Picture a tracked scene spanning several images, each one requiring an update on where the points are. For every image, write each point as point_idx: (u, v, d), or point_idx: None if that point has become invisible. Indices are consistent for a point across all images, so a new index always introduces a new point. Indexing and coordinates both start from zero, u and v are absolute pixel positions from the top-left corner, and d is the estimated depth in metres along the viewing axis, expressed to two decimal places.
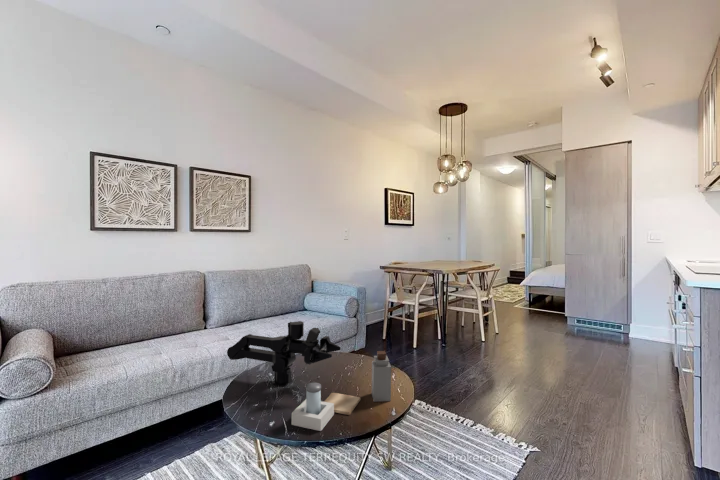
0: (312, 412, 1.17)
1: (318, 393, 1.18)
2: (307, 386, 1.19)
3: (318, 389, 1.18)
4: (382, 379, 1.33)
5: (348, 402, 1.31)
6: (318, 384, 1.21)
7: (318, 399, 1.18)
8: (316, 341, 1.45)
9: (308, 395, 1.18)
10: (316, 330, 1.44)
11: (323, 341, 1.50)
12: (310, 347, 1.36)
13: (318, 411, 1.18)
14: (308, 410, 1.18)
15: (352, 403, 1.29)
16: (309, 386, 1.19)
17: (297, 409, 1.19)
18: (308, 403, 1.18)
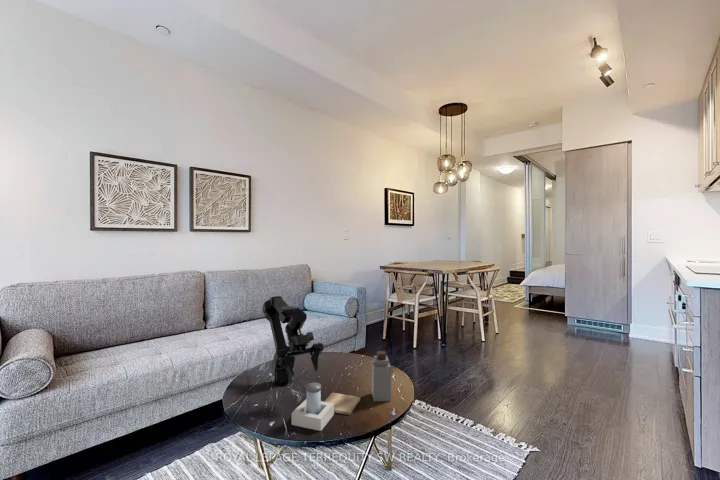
0: (312, 412, 1.17)
1: (318, 393, 1.18)
2: (307, 386, 1.19)
3: (318, 389, 1.18)
4: (382, 379, 1.33)
5: (348, 402, 1.31)
6: (318, 384, 1.21)
7: (318, 399, 1.18)
8: (303, 345, 1.31)
9: (308, 395, 1.18)
10: (305, 340, 1.27)
11: None
12: (283, 352, 1.26)
13: (318, 411, 1.18)
14: (308, 410, 1.18)
15: (352, 403, 1.29)
16: (309, 386, 1.19)
17: (297, 409, 1.19)
18: (308, 403, 1.18)
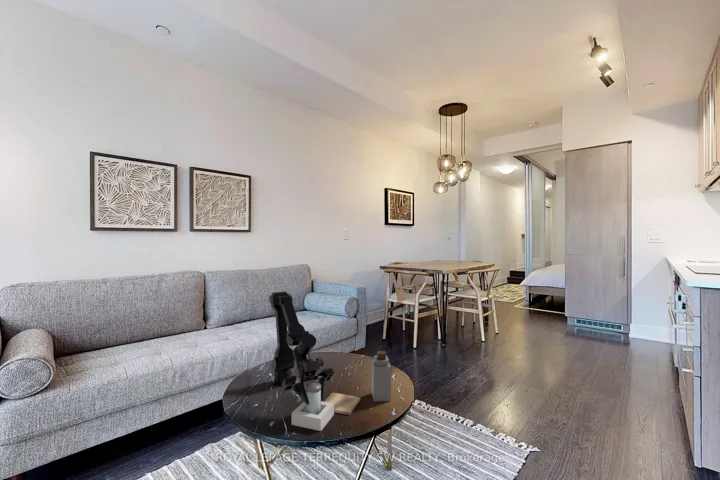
0: (312, 412, 1.17)
1: (318, 393, 1.18)
2: (307, 386, 1.19)
3: (318, 389, 1.18)
4: (382, 379, 1.33)
5: (348, 402, 1.31)
6: (318, 384, 1.21)
7: (318, 399, 1.18)
8: (312, 371, 1.23)
9: (308, 395, 1.18)
10: (314, 366, 1.19)
11: None
12: (292, 380, 1.18)
13: (318, 411, 1.18)
14: (308, 410, 1.18)
15: (352, 403, 1.29)
16: (309, 386, 1.19)
17: (297, 409, 1.19)
18: None
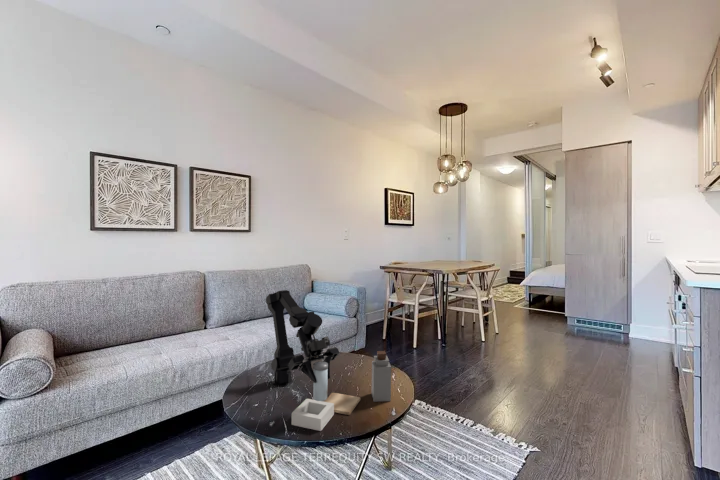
0: (320, 390, 1.19)
1: (325, 371, 1.20)
2: (314, 365, 1.21)
3: (326, 367, 1.20)
4: (382, 379, 1.33)
5: (348, 402, 1.31)
6: (325, 363, 1.23)
7: (325, 377, 1.20)
8: (319, 351, 1.25)
9: (316, 373, 1.19)
10: (322, 345, 1.21)
11: None
12: (299, 359, 1.19)
13: (325, 389, 1.20)
14: (316, 388, 1.20)
15: (352, 403, 1.29)
16: (317, 365, 1.21)
17: (297, 409, 1.19)
18: None
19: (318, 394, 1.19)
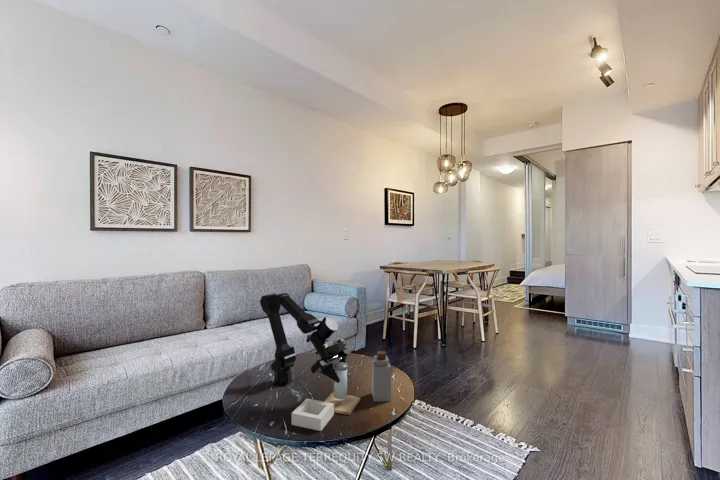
0: (342, 388, 1.28)
1: (346, 370, 1.30)
2: (336, 366, 1.29)
3: (347, 367, 1.30)
4: (382, 379, 1.33)
5: (348, 402, 1.31)
6: (343, 363, 1.32)
7: (346, 376, 1.30)
8: (335, 353, 1.33)
9: (338, 373, 1.28)
10: (342, 347, 1.30)
11: (343, 352, 1.38)
12: (324, 362, 1.26)
13: (346, 387, 1.30)
14: (338, 387, 1.28)
15: (352, 403, 1.29)
16: (338, 365, 1.29)
17: (297, 409, 1.19)
18: None
19: (340, 393, 1.28)
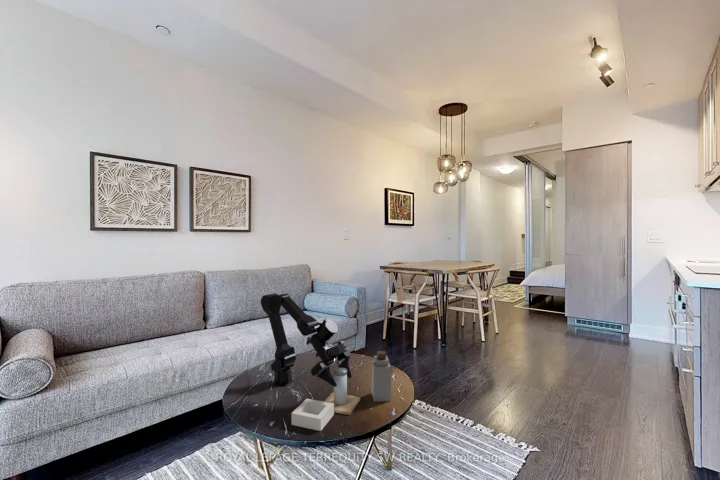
0: (342, 394, 1.28)
1: (346, 376, 1.30)
2: (335, 371, 1.29)
3: (346, 372, 1.30)
4: (382, 379, 1.33)
5: (348, 402, 1.31)
6: (343, 368, 1.32)
7: (346, 381, 1.30)
8: (335, 355, 1.33)
9: (338, 379, 1.28)
10: (342, 349, 1.30)
11: (343, 354, 1.38)
12: (324, 364, 1.26)
13: (346, 392, 1.30)
14: (338, 393, 1.28)
15: (352, 403, 1.29)
16: (338, 371, 1.30)
17: (297, 409, 1.19)
18: (338, 386, 1.28)
19: (340, 398, 1.28)
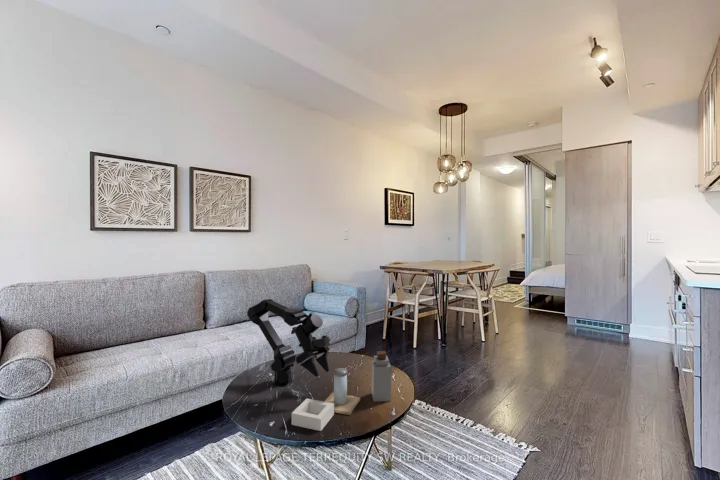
0: (342, 394, 1.28)
1: (346, 376, 1.30)
2: (335, 372, 1.29)
3: (346, 372, 1.30)
4: (382, 379, 1.33)
5: (348, 402, 1.31)
6: (343, 369, 1.32)
7: (346, 381, 1.30)
8: (318, 347, 1.39)
9: (338, 379, 1.28)
10: (327, 342, 1.37)
11: (322, 349, 1.45)
12: (310, 353, 1.31)
13: (346, 392, 1.30)
14: (338, 393, 1.28)
15: (352, 403, 1.29)
16: (338, 371, 1.29)
17: (297, 409, 1.19)
18: (338, 387, 1.28)
19: (340, 399, 1.28)
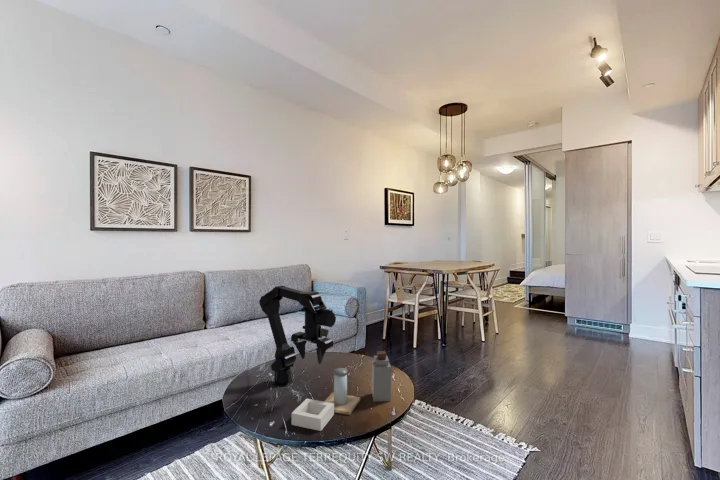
0: (342, 394, 1.28)
1: (346, 376, 1.30)
2: (336, 372, 1.29)
3: (346, 372, 1.30)
4: (382, 379, 1.33)
5: (348, 402, 1.31)
6: (343, 368, 1.32)
7: (346, 381, 1.30)
8: None
9: (338, 379, 1.28)
10: None
11: None
12: None
13: (346, 392, 1.30)
14: (338, 393, 1.28)
15: (352, 403, 1.29)
16: (338, 371, 1.29)
17: (297, 409, 1.19)
18: (338, 387, 1.28)
19: (340, 398, 1.28)
